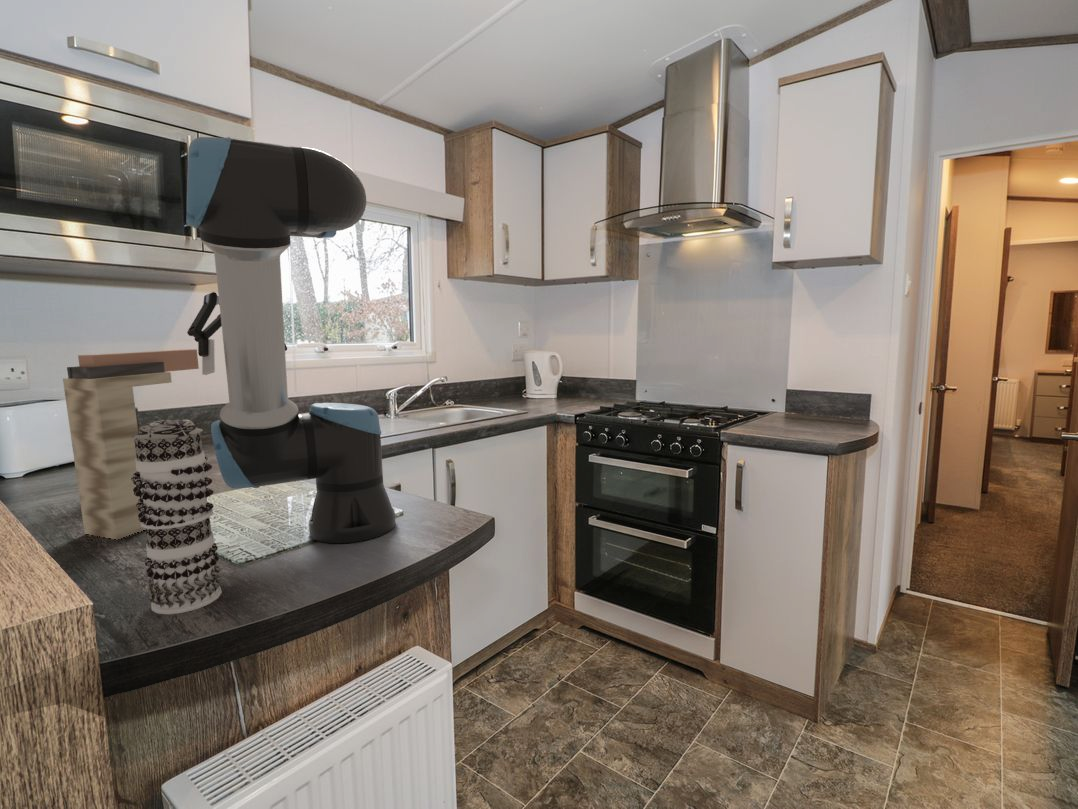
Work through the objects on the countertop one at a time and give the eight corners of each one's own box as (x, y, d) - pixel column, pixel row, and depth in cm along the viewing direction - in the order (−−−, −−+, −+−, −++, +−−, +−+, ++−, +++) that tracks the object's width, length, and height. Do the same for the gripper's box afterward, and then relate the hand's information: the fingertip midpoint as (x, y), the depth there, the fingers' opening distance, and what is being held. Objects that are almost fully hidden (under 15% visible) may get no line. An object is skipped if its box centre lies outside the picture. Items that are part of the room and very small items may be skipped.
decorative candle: (228, 579, 86) (210, 414, 82) (221, 606, 77) (201, 424, 74) (155, 591, 82) (134, 419, 78) (140, 622, 74) (116, 430, 70)
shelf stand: (186, 515, 115) (169, 361, 111) (117, 540, 103) (94, 367, 98) (156, 511, 118) (137, 361, 114) (84, 534, 106) (61, 367, 102)
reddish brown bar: (198, 368, 119) (196, 349, 119) (95, 378, 101) (92, 355, 100) (185, 368, 121) (183, 349, 120) (81, 377, 102) (77, 355, 102)
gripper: (280, 299, 133) (283, 388, 129) (167, 266, 111) (166, 372, 108) (301, 290, 129) (305, 382, 126) (189, 255, 108) (189, 364, 104)
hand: (241, 378), depth 117 cm, fingers open, 13 cm apart
